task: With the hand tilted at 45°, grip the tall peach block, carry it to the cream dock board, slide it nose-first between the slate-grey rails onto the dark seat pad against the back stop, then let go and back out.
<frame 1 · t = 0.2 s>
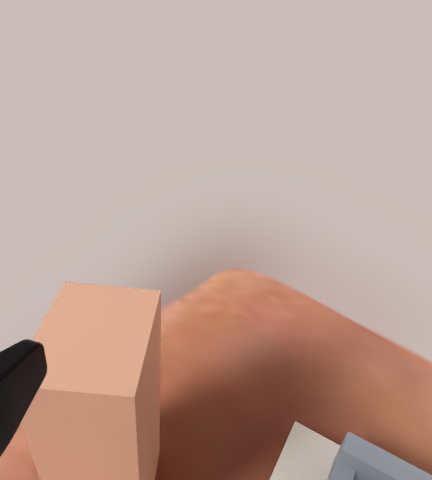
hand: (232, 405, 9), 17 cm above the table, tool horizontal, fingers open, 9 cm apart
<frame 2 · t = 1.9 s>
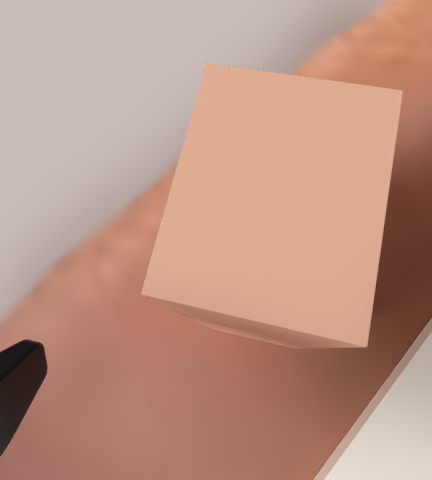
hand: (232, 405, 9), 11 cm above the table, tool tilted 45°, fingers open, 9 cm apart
tall peach block: (262, 289, 20), on the table
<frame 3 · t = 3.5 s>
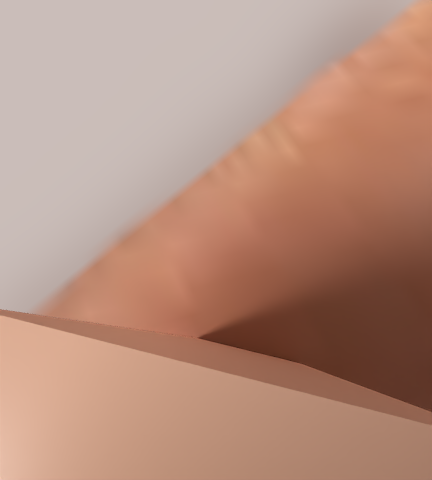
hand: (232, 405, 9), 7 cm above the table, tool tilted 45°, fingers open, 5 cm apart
tall peach block: (233, 419, 15), on the table, touching gripper
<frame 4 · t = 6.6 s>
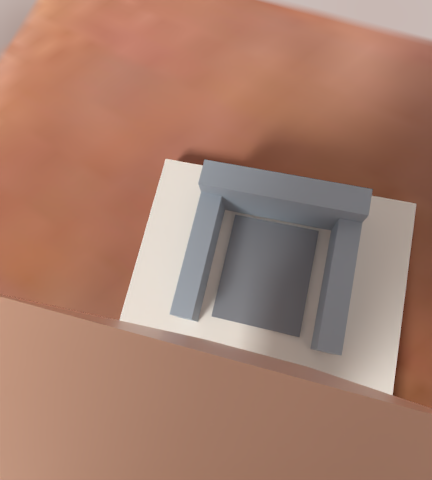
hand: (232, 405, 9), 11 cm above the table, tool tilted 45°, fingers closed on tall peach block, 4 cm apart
tall peach block: (239, 420, 15), point 5 cm above the table, touching gripper
dock: (244, 376, 19), on the table
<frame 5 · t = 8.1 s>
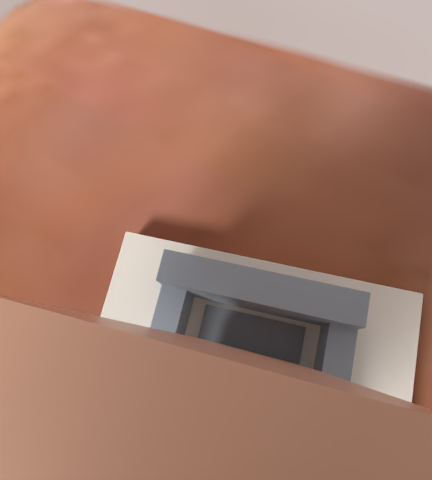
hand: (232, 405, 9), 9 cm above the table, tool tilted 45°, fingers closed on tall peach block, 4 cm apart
tall peach block: (238, 421, 15), point 2 cm above the table, touching gripper
when the fingers open (9 cm above the table, at t = 9.5 s): tall peach block stays where it is, resting on dock.
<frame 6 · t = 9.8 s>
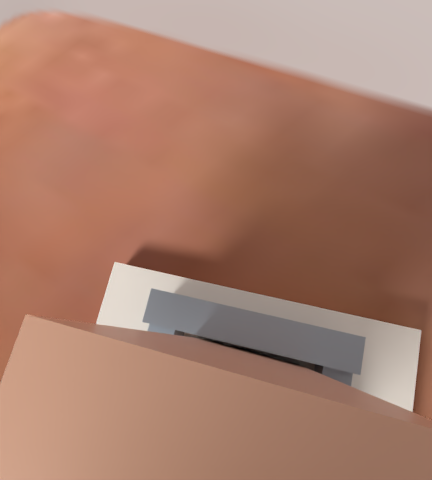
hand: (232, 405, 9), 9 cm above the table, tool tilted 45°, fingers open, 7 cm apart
tall peach block: (235, 417, 15), point 1 cm above the table, touching dock
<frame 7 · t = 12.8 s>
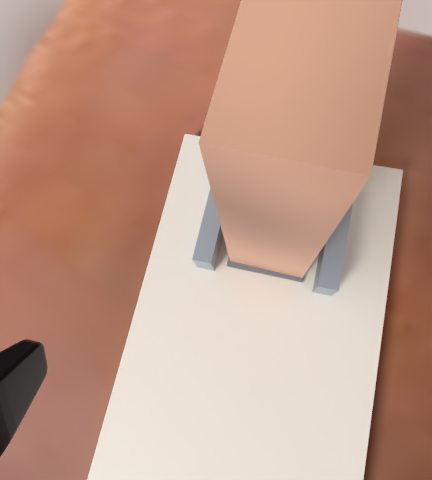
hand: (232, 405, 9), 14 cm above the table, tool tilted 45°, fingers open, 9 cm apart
tall peach block: (275, 226, 22), point 1 cm above the table, touching dock
dock: (254, 319, 22), on the table
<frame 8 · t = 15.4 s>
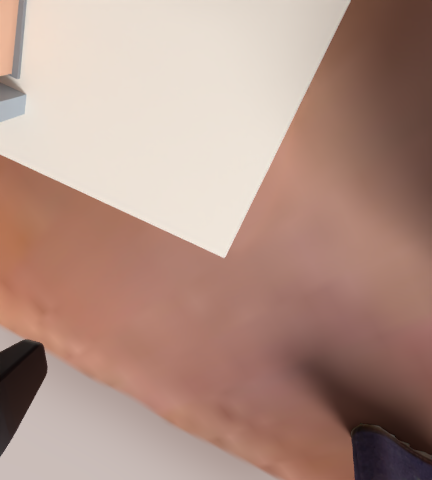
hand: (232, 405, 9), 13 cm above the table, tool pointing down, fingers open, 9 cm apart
flask: (409, 456, 27), on the table
dock: (86, 52, 19), on the table
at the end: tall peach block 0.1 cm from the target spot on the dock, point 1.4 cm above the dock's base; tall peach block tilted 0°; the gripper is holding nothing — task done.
